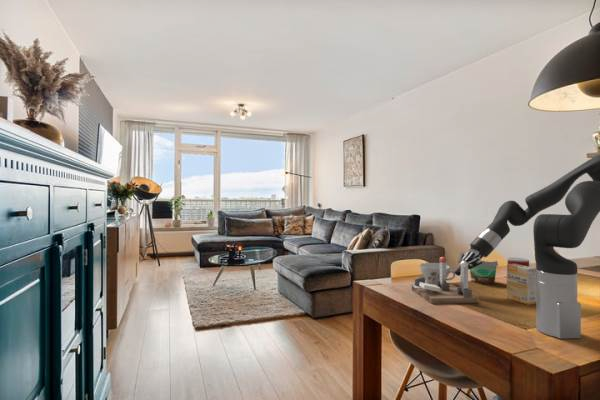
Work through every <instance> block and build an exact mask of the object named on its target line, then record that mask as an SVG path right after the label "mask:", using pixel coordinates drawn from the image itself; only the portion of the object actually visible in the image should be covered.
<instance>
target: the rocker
mask: <svg viewBox="0 0 600 400" xmlns="http://www.w3.org/2000/svg"><path fill="white" fill-rule="evenodd" d="M419 286H421V287H422V288H424V289H428V290H433V291H438V292H440V290H441V288H440V287H438V286H436V285H432V284H429V283H428V282H425V283H422V282H420V284H419Z"/></svg>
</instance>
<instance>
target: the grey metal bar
mask: <svg viewBox="0 0 600 400" xmlns="http://www.w3.org/2000/svg"><path fill="white" fill-rule="evenodd" d="M460 266H461V275H460V287H461V294H463V290H469V269H468V263H467V262H466V261H462V262H461V263H460Z"/></svg>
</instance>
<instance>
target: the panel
mask: <svg viewBox="0 0 600 400" xmlns="http://www.w3.org/2000/svg"><path fill="white" fill-rule="evenodd" d="M409 285H410V286H411V290H412V291H413V292H414V291H415V292H414V293H416V294H417V295H419V297H421V298H423V299H424V300H426V302H428V303H430V304H431V305H436V304H437V305H440V304H441V305H442V304H446V305H447V304H478V300H479V299H478V297H477V296H475V295H474V294H472V289H468V290H463V294H461V286H456V285H454V284H453V283H448V282H446V283H441V287H440V281H437V284H432V285H436V286H438V287H440V288H441V290H440V292H438V291H433V290H428V289H424V288H422V287H421V286H417V285H415V283H409Z"/></svg>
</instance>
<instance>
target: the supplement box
mask: <svg viewBox="0 0 600 400" xmlns="http://www.w3.org/2000/svg"><path fill="white" fill-rule="evenodd" d="M506 264H507V265H506V299H507V300H511V301H513V302H514V301H515V302H518V303H522V304H524V305H527V306H529V305H536V267H533V266H530V265H529V266H524V265H519V264H508V263H506Z"/></svg>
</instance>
